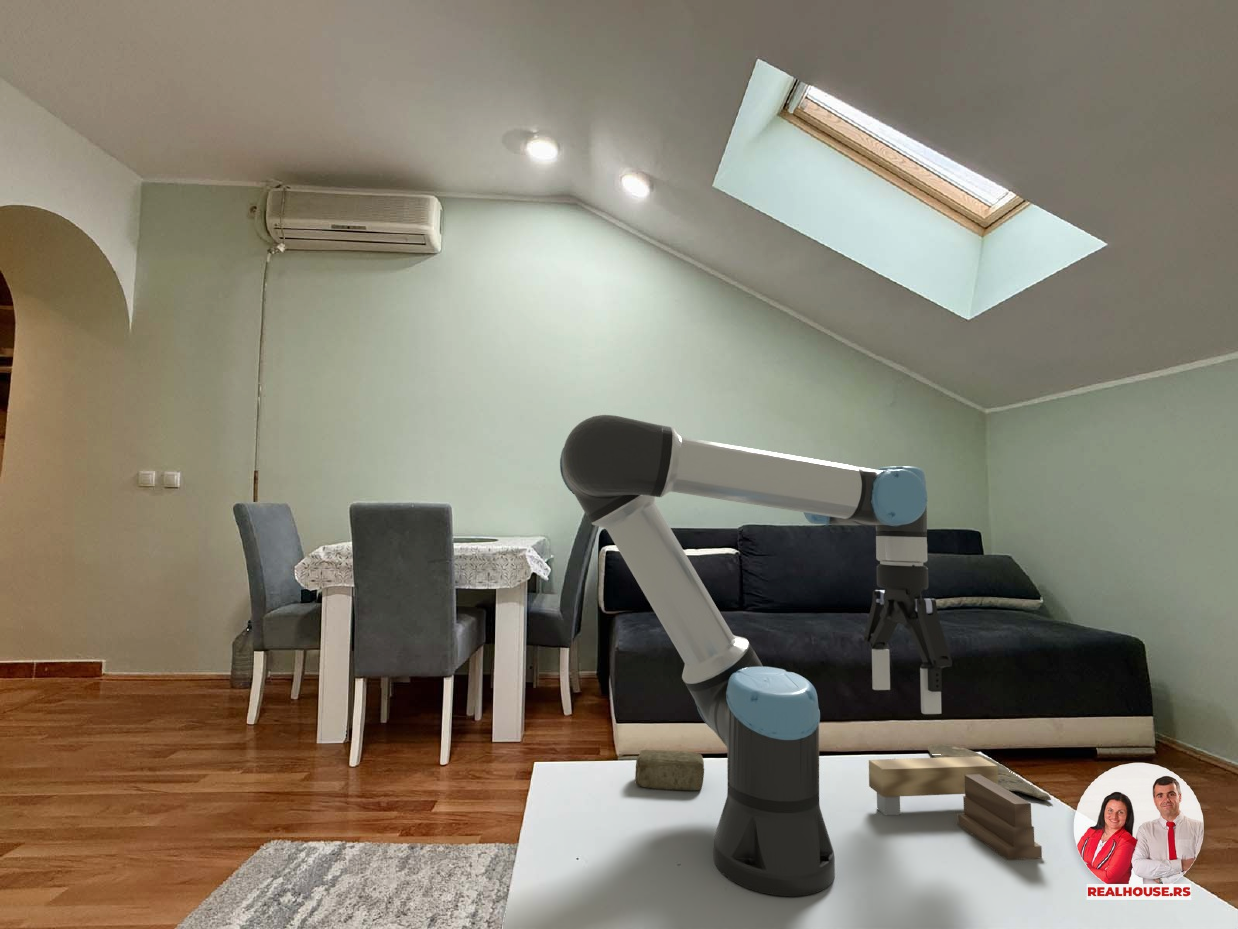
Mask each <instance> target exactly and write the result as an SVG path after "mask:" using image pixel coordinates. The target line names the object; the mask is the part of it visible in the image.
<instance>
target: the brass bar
mask: <svg viewBox="0 0 1238 929" xmlns="http://www.w3.org/2000/svg"><path fill="white" fill-rule="evenodd" d="M974 774H980V775H981V776H983V777H985V778H987V779H989V780H990V781H992V782H994V783H996V784H997V785H998V768H997V765H995V764H993V763H991V762H989V761H987V760H986V759H984V758H982V757H980V756H977V757H944V758H936V757H918V758H917V757H916V758H888V759H885V758H884V759H880V758H879V759H868V787H869V788H871V790H873V791H875V793H876V794H877V793H878V794H880V795H881V796H882V797H899V796H900V797H919V796H920V797H921V796H925V797H926V796H944V795H945V796H946V795H947V796H948V795H965V775H974Z"/></svg>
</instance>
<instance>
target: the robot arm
mask: <svg viewBox="0 0 1238 929" xmlns="http://www.w3.org/2000/svg"><path fill="white" fill-rule="evenodd" d="M559 468H560V469H559V470H560V474H561V475H560V476H561V478H562V480H563V482H564V485H565V486H566V488H567V489H568V490H569V492H571V494H573V495H574V496H575V498H576V499H577V502H578V503H579V505H580V506H581V508H582V510H583V511H584V513H585V515H586V516H587V518H588V520H589V521H590V523H591V525H593V526H596V527H599V528H604V529H605V530H606V532H607V533H608V535H609V537H610V538H611V540H612V542H613V543H614V545H615V547H616V548H617V550H618V551H619V553H620V555H621V557H622V558H623V560H624V562H625V564H626V566H627V567H628V569H629V570H630V572H631V574H632V575H633V577H634V578H635V580H636V582H637V584H638V586H639V587H640V589H641V592H643V594H644V596H645V599H646V600H647V601H648V603H649V604H650V607H651V608H652V610H653V612H654V613H655V614H656V616H657V618H658V620H659V622H660V623H661V625H662V626H663V628H664V630H665V632H666V633H667V635H668V638H670V640H671V643H672V644H673V645H674V647H675V649H676V650H677V652H678V654H679V656H680V657H681V659H682V661H683V663H684V666H683V671H682V674H681V679H682V680H683V682H684V684H685V686H686V687H687V689H688V691H689V693H690V694H691V696H692V698H693V699H694V702H695V705H696V707H697V712H698V714H699V716H700V717H701V719H702V720H703V722H704V723H705V724H706V725H707V726H708V727H709V728H710V729H711V730H712V731H713V732H714V733H715V734H716V736H717V737H718V738H719V739H720V741H721V742H722V743H723V744H724V746H726V748H727V758H726V759H727V760H726V761H727V774H726V775H727V777H726V778H727V790H726V791H727V795H726V799H725V803H724V805H723V809H722V812H721V814H720V818H719V821H718V824H717V827H716V830H715V834H714V837H713V862H714V864H715V866H716V867H717V869H718V870H719V871H720V872H721V873H722V875H724V876H725V877H726V878H728V880H731V881H732V882H734V883H736V884H737V885H738V886H742V887H744V888H746V889H749V890H751V891H754V892H758V893H763V894H766V895H772V896H780V897H781V896H782V897H799V896H808V895H812V894H816V893H818V892H821V891H823V890H825V889H827V888H828V887H829V886H830V885H831V884H832V883H833V881H834V879H835V876H836V873H835V872H836V869H835V868H836V866H835V865H836V863H835V862H836V860H835V857H836V856H835V852H834V848H833V844H832V842H831V839H830V836H829V833H828V829H827V826H826V823H825V819H824V817H823V814H822V810H821V806H820V720H821V712H820V711H821V710H820V709H819V701H818V694H817V690H816V688H815V686H814V684H812V683H811V682H810V681H809V680H808V679H807V678H805V677H803V676H802V675H800V674H798V673H795V672H792V671H787V670H786V669H783V668H778V667H774V666H773V667H772V666H763V664H762V662H761V660H760V659H759V657H758V655H757V654H756V652H755V650H754V648H753V647H752V645H751V644H750V642H749V640H748V639H747V638H746V637H743V636H738V635H734V634H733V632H732V630H731V629H730V627H729V625H728V624H727V622H726V621H725V618H724V617H723V616H722V614H721V612H720V610H719V609H718V607H717V606H716V604H715V602H714V600H713V599H712V597H711V595H710V593H709V591H708V589H707V588H706V587H705V585H704V583H703V581H702V580H701V578H700V576H699V574H698V572H697V571H696V569H695V567H694V566H693V564H692V562H691V561H690V559H689V557H688V556H687V554H686V552H685V551H684V549H683V547H682V545H681V543H680V542H679V540H678V539H677V537H676V536H675V533H674V532H673V530H672V528H671V527H670V525H669V524H668V522H667V520H666V518H665V516H664V515H663V513H662V512H661V509H660V508H659V506H658V505H657V503H656V502H655V497H656V498H662V497H664V496H665V495H666V494H668V493H670V492H672V493H678V494H684V495H690V496H697V497H702V498H703V497H704V498H709V499H716V500H721V501H722V500H723V501H729V502H735V503H741V504H749V505H754V506H762V507H766V508H773V509H780V510H787V511H792V512H793V511H794V512H800V513H803V515H804V517H805V519H806V520H807V521H808V522H809V523H810V524H814V525H824V526H826V527H827V526H830V525H832V526H875V544H876V545H875V548H876V549H875V554H876V557H875V558H876V560H877V561H878V562H879V564H877V566H876V585H877V587H879V588H881V589H874V590H873V591H872V601H871V605H870V606H871V607H870V611H869V615H868V618H867V621H866V627H865V630H864V635H863V641H864V643H868V644H869V648H870V649H871V670H872V674H871V675H872V676H871V678H872V680H871V683H872V690H874V691H887V690H888V691H890V690H891V673H890V672H891V669H890V668H891V667H890V666H891V665H890V663H891V662H890V660H891V659H890V649H889V648H891V647H890V645H889V642H890V640H891V638H892V636H893V634H894V632H895V630H896V628H897V626H898V624H901V625H902V626H903V627H904V628H905V629H907V630H908V632H909V634H910V637H911V639H912V641H913V643H914V646H915V647H916V650H917V652H918V654H919V657H920V659H921V661H922V663H921V665H920V666H919V667H920V668H919V673H920V674H919V676H920V677H919V678H920V680H919V682H920V710H921V712H920V713H922V714H923V715H940V714H942V690H943V686H942V685H943V683H942V679H943V678H942V670H943V669H944V668H947V667H950V668H951V667H952V665H953V660H952V657H951V654H950V651H949V647H948V645H947V641H946V638H945V634H944V631H943V628H942V625H941V622H940V618H939V615H938V606H937V601H936V598H923V597H922V592H923V591H926V590H928V588H929V568H928V567H927V566H926V565H924V563H927V562H928V541H927V539H928V538H927V537H928V533H927V532H928V528H927V527H928V524H927V523H928V520H927V519H928V518H927V516H928V511H927V509H928V507H927V505H928V492H927V482H926V477H925V472H924V471H923V469H922V468H919V467H917V466H904V465H903V466H883V467H882V466H881V467H879V468H877V469H875V468H874V469H873V468H868V467H862V466H854V465H849V464H844V463H840V462H839V463H838V462H833V461H832V462H831V461H828V460H821V459H817V458H815V459H814V458H810V457H804V456H797V455H793V454H785V453H780V452H776V451H775V452H773V451H769V450H762V449H758V448H757V449H756V448H750V447H746V446H745V447H744V446H739V445H733V444H727V443H722V442H715V441H709V440H702V439H698V438H692V437H686V436H681V435H679V434H678V432H676V429H674V427H672V426H667V425H662V424H661V425H660V424H655V423H652V422H647V421H643V420H637V419H634V418H629V417H625V416H624V417H623V416H618V415H613V414H610V415H609V414H600V415H594V416H591V417H588V418H586V419H585V420H582V421H581V422H579V423H578V424H576V426H575V427H574V428H573V429H572V430H571V431H570V433H569V434H568V436H567V438H566V440H565V442H564V446H563V447H562V450H561V454H560V459H559Z"/></svg>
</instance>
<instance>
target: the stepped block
mask: <svg viewBox="0 0 1238 929" xmlns="http://www.w3.org/2000/svg"><path fill="white" fill-rule="evenodd" d="M962 797H963V813H957V825H958V826H959V827H961V828H962V829H963V830H965V831H966V832H967V833H969V834H971V835H972V836H974V837H975V838H976V839H978V841H980V842H981V843H983V844H985V846H987V847H989V848H990V849H992V850H993V851H995V852H996V853H997V854H998V855H1001V857H1003V858H1004V859H1005V860H1007V861H1011V860H1012V861H1013V860H1031V859H1043V854H1042V853H1043V851H1042V845H1040V844H1039V843H1038V842H1036V841H1035V827H1034V825H1032V824H1033V822H1032V803H1031V802H1029V801H1027V800H1025V798H1024V799H1023V798H1022V797H1020V796H1019V795H1017V794H1015V793H1014V792H1013V791H1008V790H1006V789H1004V788H1003V787H1001V786H999V785H997V784H996V783H994V782H992V781H990V780H989V779H987V778H985V777H983V776H981V775H980V774H974V775H965V794H964V795H963V796H962Z"/></svg>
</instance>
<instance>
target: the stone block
mask: <svg viewBox="0 0 1238 929" xmlns="http://www.w3.org/2000/svg"><path fill="white" fill-rule="evenodd" d="M639 752H640V753H639V754H638V756H637V757H636V762H635V773H634V774H635V776H634V777H635V781H634V782H635V784H636V786H640V787H641V788H645V789H652V790H653V789H654V790H657V789H658V790H670V791H671V790H674V791H699V790H702V788H703V784H704V783H703V782H704V778H705V777H704V776H705V764H704V762H705V761H704V758H703V755H702V754H701V753H697V752H693V751H690V752H688V751H679V750H678V751H676V750H655V749H651V750H650V749H642V750H641V751H639Z"/></svg>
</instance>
